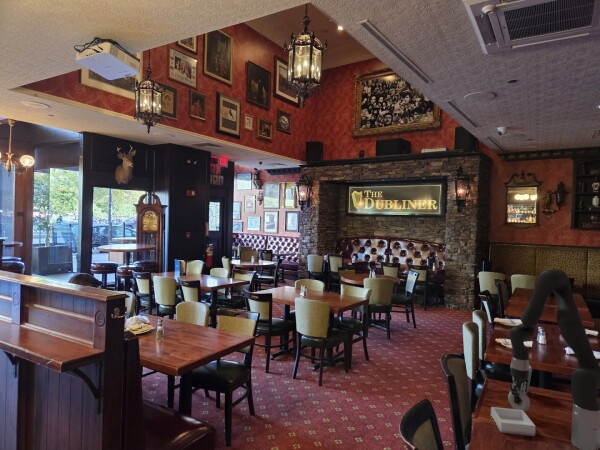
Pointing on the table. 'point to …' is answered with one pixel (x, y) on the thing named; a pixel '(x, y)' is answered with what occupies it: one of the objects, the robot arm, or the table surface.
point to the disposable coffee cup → (528, 378)
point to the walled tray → (513, 421)
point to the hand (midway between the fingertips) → (518, 401)
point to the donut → (525, 401)
